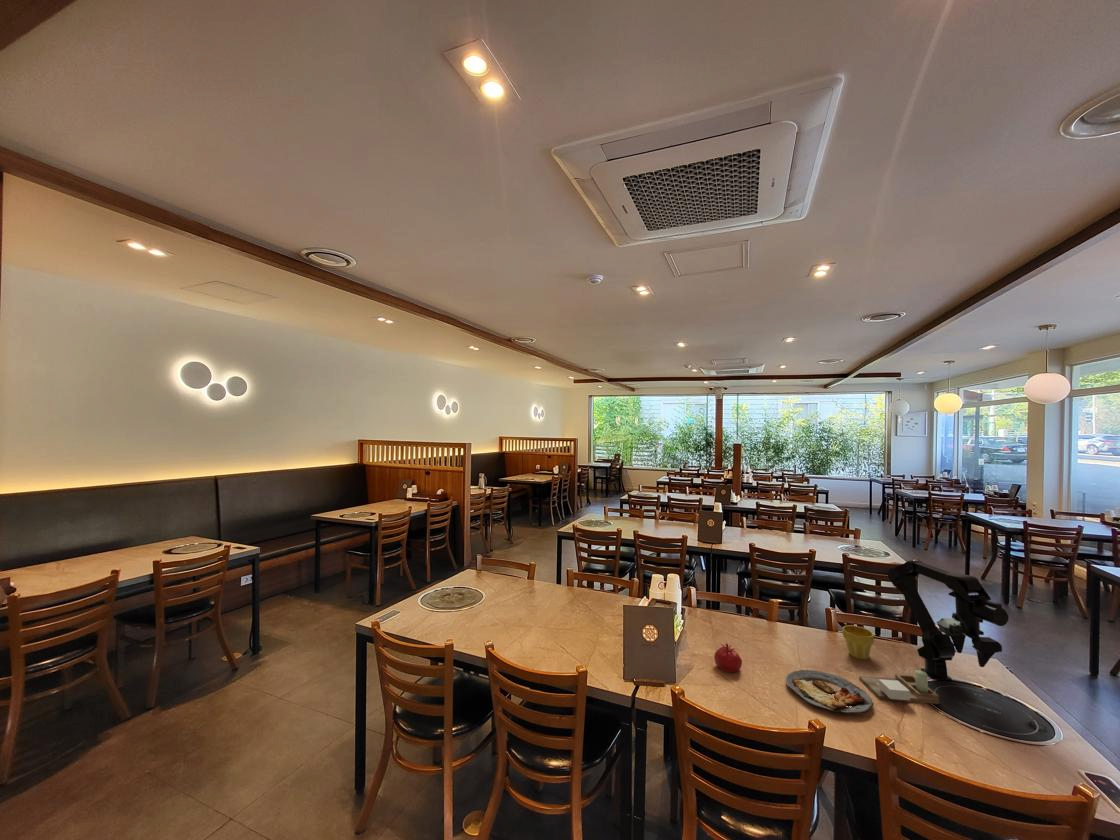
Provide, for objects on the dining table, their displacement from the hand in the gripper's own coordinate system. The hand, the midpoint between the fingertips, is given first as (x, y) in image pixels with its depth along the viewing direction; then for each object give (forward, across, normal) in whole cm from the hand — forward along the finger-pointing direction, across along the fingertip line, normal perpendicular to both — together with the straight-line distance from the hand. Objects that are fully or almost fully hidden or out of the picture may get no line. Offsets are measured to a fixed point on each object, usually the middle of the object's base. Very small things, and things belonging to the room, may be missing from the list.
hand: (970, 659), depth 142 cm
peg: (+11, +3, -18) cm, 21 cm away
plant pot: (+12, -24, -23) cm, 35 cm away
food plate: (+12, +6, -48) cm, 50 cm away
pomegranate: (+12, -7, -78) cm, 79 cm away
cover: (+10, +6, -27) cm, 30 cm away
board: (+12, 0, -24) cm, 26 cm away
